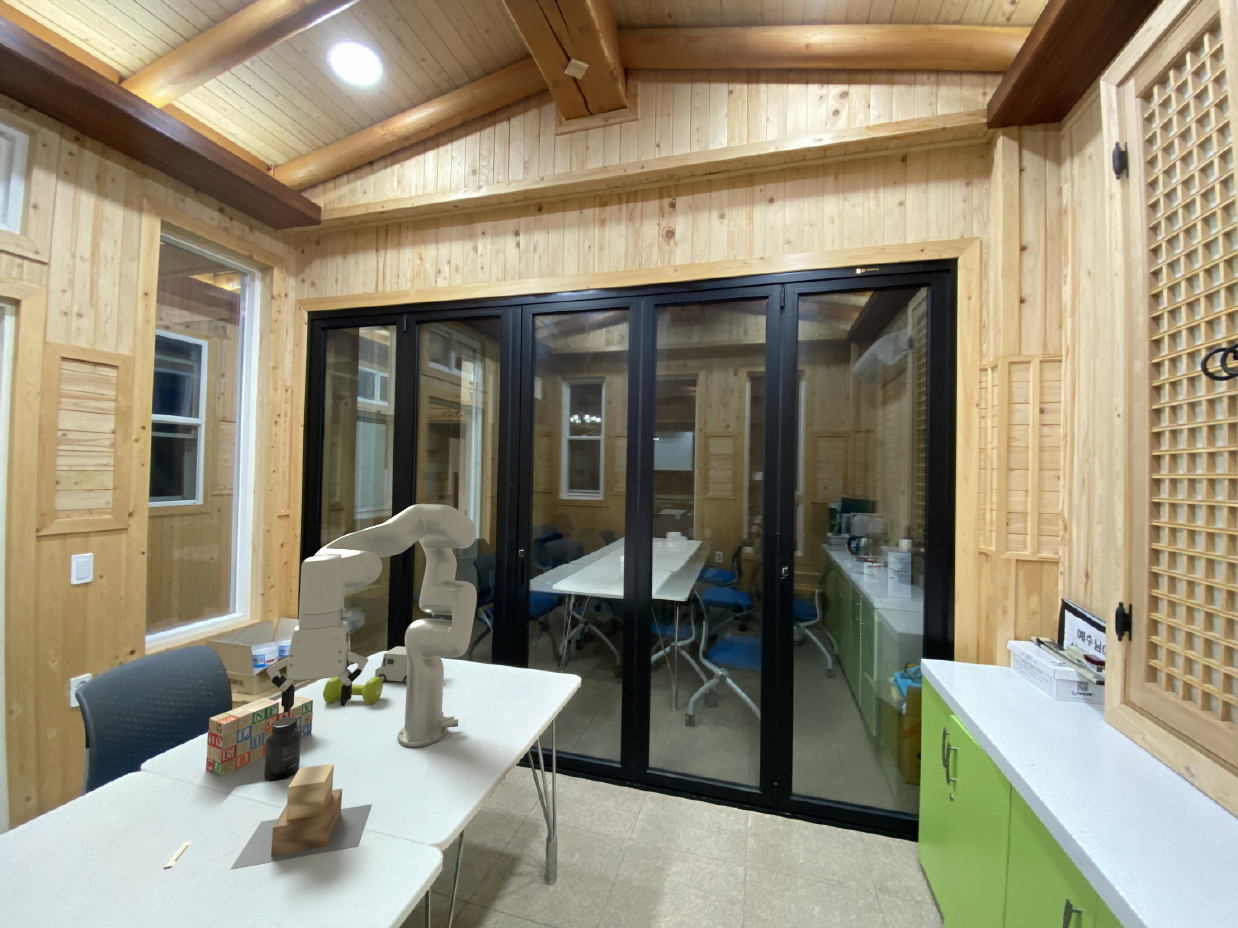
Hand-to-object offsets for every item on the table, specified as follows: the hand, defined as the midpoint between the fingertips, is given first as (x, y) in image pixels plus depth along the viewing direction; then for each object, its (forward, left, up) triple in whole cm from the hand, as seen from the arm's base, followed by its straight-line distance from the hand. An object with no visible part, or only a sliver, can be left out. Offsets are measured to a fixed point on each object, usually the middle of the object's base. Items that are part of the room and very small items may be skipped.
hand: (317, 706), depth 91 cm
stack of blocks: (+22, -37, -26) cm, 50 cm away
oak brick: (0, 0, -19) cm, 19 cm away
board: (0, 0, -25) cm, 25 cm away
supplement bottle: (+13, -25, -25) cm, 38 cm away
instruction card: (+18, -2, -25) cm, 31 cm away
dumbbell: (+7, -62, -26) cm, 67 cm away
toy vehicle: (-6, -76, -26) cm, 81 cm away
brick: (0, 0, -24) cm, 24 cm away
